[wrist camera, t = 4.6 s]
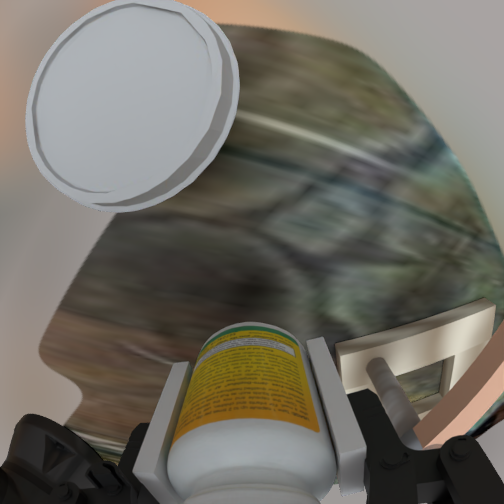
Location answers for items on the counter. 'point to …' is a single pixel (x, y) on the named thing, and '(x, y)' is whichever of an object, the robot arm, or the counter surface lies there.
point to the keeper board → (415, 358)
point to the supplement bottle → (252, 423)
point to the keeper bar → (463, 399)
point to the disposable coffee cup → (132, 104)
